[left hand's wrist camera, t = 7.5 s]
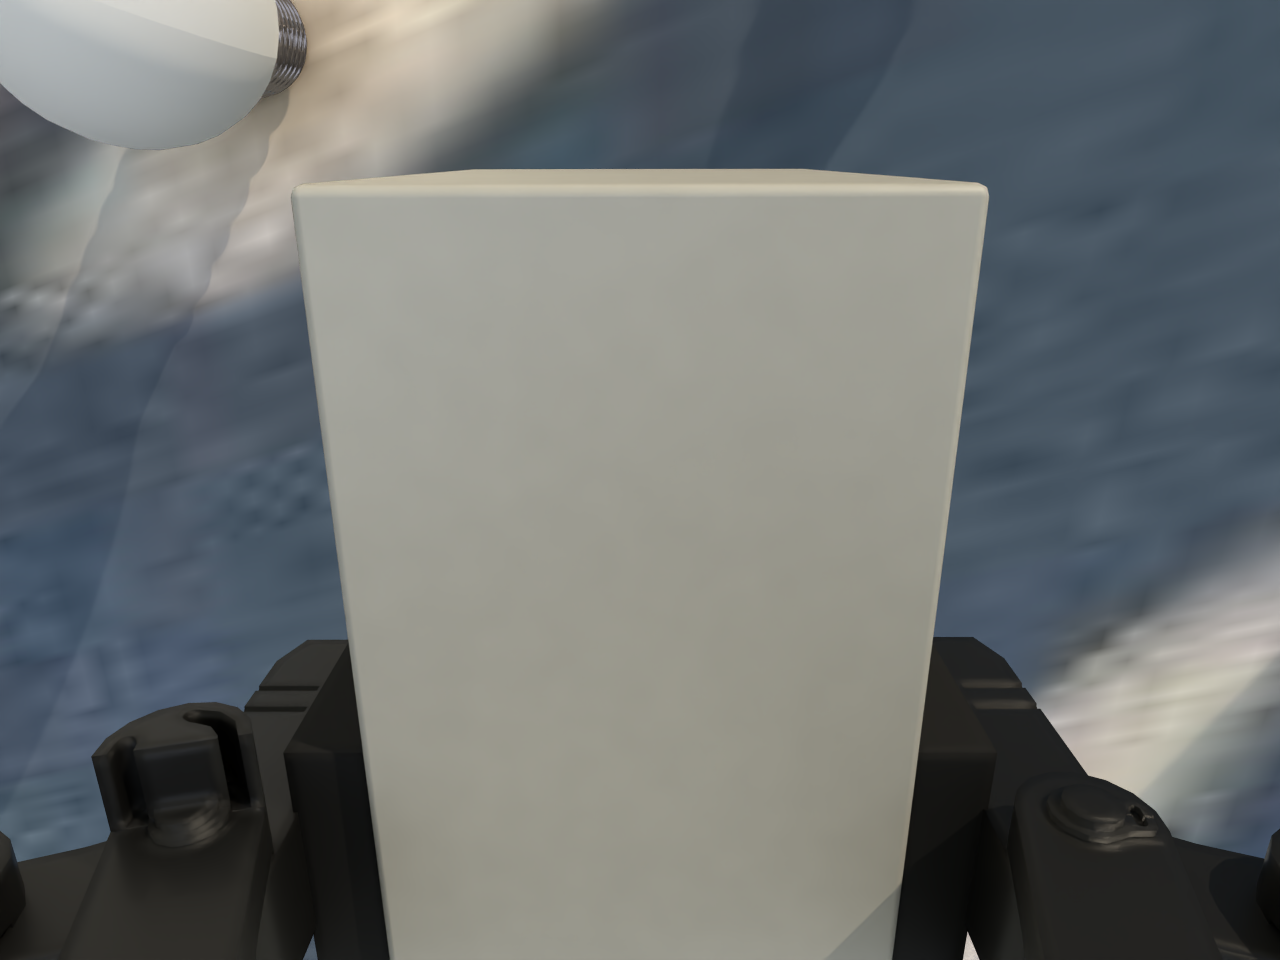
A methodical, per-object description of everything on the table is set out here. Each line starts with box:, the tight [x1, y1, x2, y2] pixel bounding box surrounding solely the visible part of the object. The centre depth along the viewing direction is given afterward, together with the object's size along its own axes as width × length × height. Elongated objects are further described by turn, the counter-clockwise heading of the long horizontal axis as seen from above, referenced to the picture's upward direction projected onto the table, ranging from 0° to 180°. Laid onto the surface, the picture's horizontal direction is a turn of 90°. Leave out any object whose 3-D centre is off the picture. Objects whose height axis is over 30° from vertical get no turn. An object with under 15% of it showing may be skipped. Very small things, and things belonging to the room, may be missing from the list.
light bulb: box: [0, 0, 307, 150], centre depth 23 cm, size 7×7×11 cm
